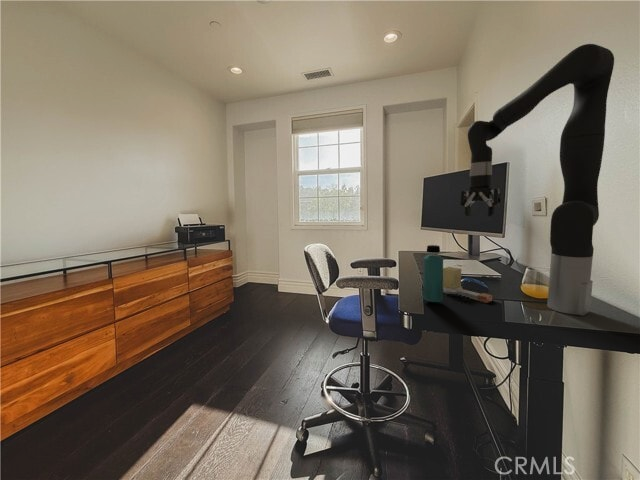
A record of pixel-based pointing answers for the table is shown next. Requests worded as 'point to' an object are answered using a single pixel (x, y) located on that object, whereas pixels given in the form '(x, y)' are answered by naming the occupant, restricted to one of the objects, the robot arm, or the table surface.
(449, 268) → the beige rounded cube
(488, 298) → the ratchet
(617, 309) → the table surface
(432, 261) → the beverage bottle
